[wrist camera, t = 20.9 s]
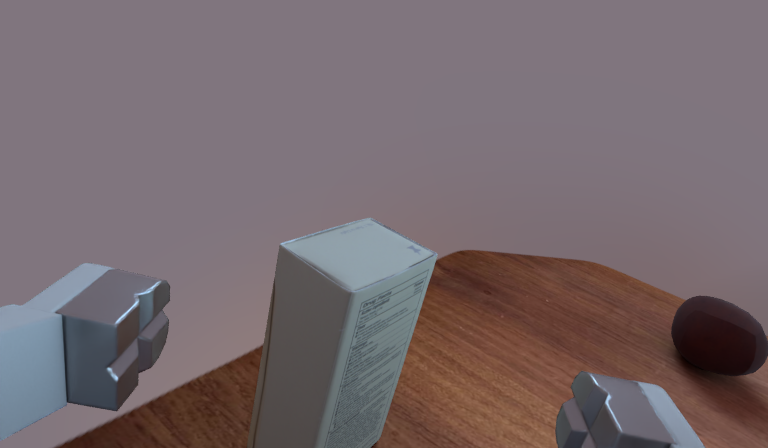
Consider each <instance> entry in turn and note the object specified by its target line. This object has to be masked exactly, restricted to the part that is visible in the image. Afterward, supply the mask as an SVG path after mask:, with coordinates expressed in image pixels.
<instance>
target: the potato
mask: <svg viewBox="0 0 768 448" xmlns="http://www.w3.org/2000/svg"><path fill="white" fill-rule="evenodd" d="M671 334H672V338H673V342H674V345H675V346H676V348H677V350H678V351H679V352H680V354H681V355H682V356H683V357H684V358H685V359H686V360H687V361H688V362H689V363H691V364H693V365H695V366H697V367H699V368H701V369H703V370H706V371H710V372H713V373H717V374H722V375H728V376H741V375H747V374H750V373H754V372H756V371H757V370H758V369H759V368H760V367H761V366H762V365H763V364H764V363H765V360H766V358H767V356H768V340H767V338H766V335H765V333H764V331H763V328H762V326H761V324H760V323H759V322H757V320H756V319H754V318H753V317H752V316H751V315H750V314H749V313H748V312H746V311H744V310H743V309H741V308H739V307H738V306H736V305H734V304H732V303H729V302H727V301H724V300H721V299H718V298H714V297H709V296H696V297H692V298H690V299H688V300H686V301H685V302H684V303H683V304H682V305H681V306H680V308H679V309H678V310H677V312H676V314H675V317H674V320H673V324H672V331H671Z"/></svg>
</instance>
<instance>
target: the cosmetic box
mask: <svg viewBox="0 0 768 448" xmlns="http://www.w3.org/2000/svg"><path fill="white" fill-rule="evenodd" d="M436 258H437V253H435V252H433V251H431V250H429V249H427V248H426V247H424V246H422V245H420V244H418V243H416V242H415V241H413V240H411V239H409V238H407V237H405V236H403V235H402V234H400V233H398V232H396V231H394V230H393V229H391V228H389V227H387V226H385V225H383V224H381V223H379V222H378V221H376V220H374V219H372V218H367V219H363V220H359V221H355V222H351V223H348V224H344V225H342V226H338V227H334V228H331V229H327V230H324V231H320V232H317V233H313V234H310V235H306V236H304V237H300V238H297V239H294V240H290V241H287V242H283V243H281V244H280V246H279V253H278V259H277V265H276V272H275V279H274V284H273V291H272V296H271V302H270V308H269V315H268V320H267V328H266V333H265V339H264V345H263V351H262V357H261V363H260V370H259V376H258V382H257V388H256V394H255V400H254V406H253V412H252V419H251V425H250V431H249V437H248V443H247V448H370V447H371V446H373V445H374V444H375V443H376V442H377V441H378V440H379V438H380V436H381V433H382V430H383V426H384V423H385V420H386V417H387V414H388V411H389V408H390V404H391V401H392V398H393V395H394V392H395V388H396V385H397V382H398V379H399V376H400V373H401V369H402V366H403V363H404V360H405V357H406V353H407V350H408V347H409V344H410V341H411V338H412V334H413V331H414V328H415V325H416V322H417V319H418V315H419V312H420V309H421V306H422V302H423V299H424V296H425V293H426V290H427V287H428V284H429V281H430V277H431V274H432V271H433V268H434V265H435V261H436Z"/></svg>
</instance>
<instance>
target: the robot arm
mask: <svg viewBox="0 0 768 448" xmlns="http://www.w3.org/2000/svg"><path fill="white" fill-rule="evenodd" d="M169 301H170V285H169V284H168V282H167V281H166V280H161V279H157V278H153V277H149V276H145V275H141V274H136V273H132V272H128V271H124V270H120V269H114V268H111V267H107V266H102V265H97V264H92V263H86V264H81V265H80V266H78V267H77V268H76V269H74V270H73V271H71V272H70V273H69V274H67V275H66V276H64V277H63V278H61V279H60V280H58V281H57V282H55V283H54V284H53V285H51V286H50V287H48V288H47V289H45V290H44V291H42V292H41V293H40V294H38V295H37V296H35V297H34V298H32V299H31V300H30V301H28V302H27V303H25V304H24V305H22V306H19V305H14V304H11V305H8V306H3V307H0V441H1V440H3V439H5V438H6V437H9V436H11V435H12V434H14V433H16V432H18V431H20V430H22V429H23V428H25V427H27V426H29V425H31V424H33V423H35V422H37V421H38V420H40V419H42V418H44V417H46V416H47V415H50V414H51V413H53V412H55V411H57V410H58V409H61V408H63V407H64V406H66V405H67V403H73V404H78V405H84V406H90V407H95V408H101V409H107V410H112V411H118V409H119V408H120V407H121V406H122V404H123V403H124V402H125V401H126V399H127V398H128V397H129V396H130V394H131V393H132V392H133V390H134V389H135V388H136V386H137V385H138V373H140V372H143V371H145V370H147V369H149V368H151V367H152V366H153V365H154V363H155V362H156V361H157V359H158V358H159V356H160V354H161V352H162V349H163V347H164V345H165V343H166V338H167V334H168V326H169V319H168V318H167V316H166V315H165V313H164V312H163V310H162V309H163V308H164V307H165V305H166V304H167V303H168V302H169ZM571 389H572V392H573V395H574V397H573V398H572V399H570V400H568V401H567V402H565V403H563V404H562V406H561V409H560V411H559V414H558V416H557V421H556V430H555V432H556V441H557V445H558V448H705V446H704V445H703V443H702V442H701V440H700V439H699V438H698V436H697V435H696V433H695V432H694V431H693V429H692V428H691V426H690V425H689V424H688V422H687V421H686V419H685V418H684V417H683V415H682V414H681V412H680V411H679V410H678V408H677V407H676V405H675V404H674V403H673V401H672V400H671V398H670V397H669V395H668V394H667V393H666V391H665V390H664V389H662V388H661V387H659V386H658V385H654V384H649V383H643V382H638V381H629V380H624V379H619V378H614V377H609V376H604V375H599V374H594V373H589V372H584V371H581V372H580V373H579V374H578V375H577V376H576V377H575V379H574V381H573V383H572V385H571Z"/></svg>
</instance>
